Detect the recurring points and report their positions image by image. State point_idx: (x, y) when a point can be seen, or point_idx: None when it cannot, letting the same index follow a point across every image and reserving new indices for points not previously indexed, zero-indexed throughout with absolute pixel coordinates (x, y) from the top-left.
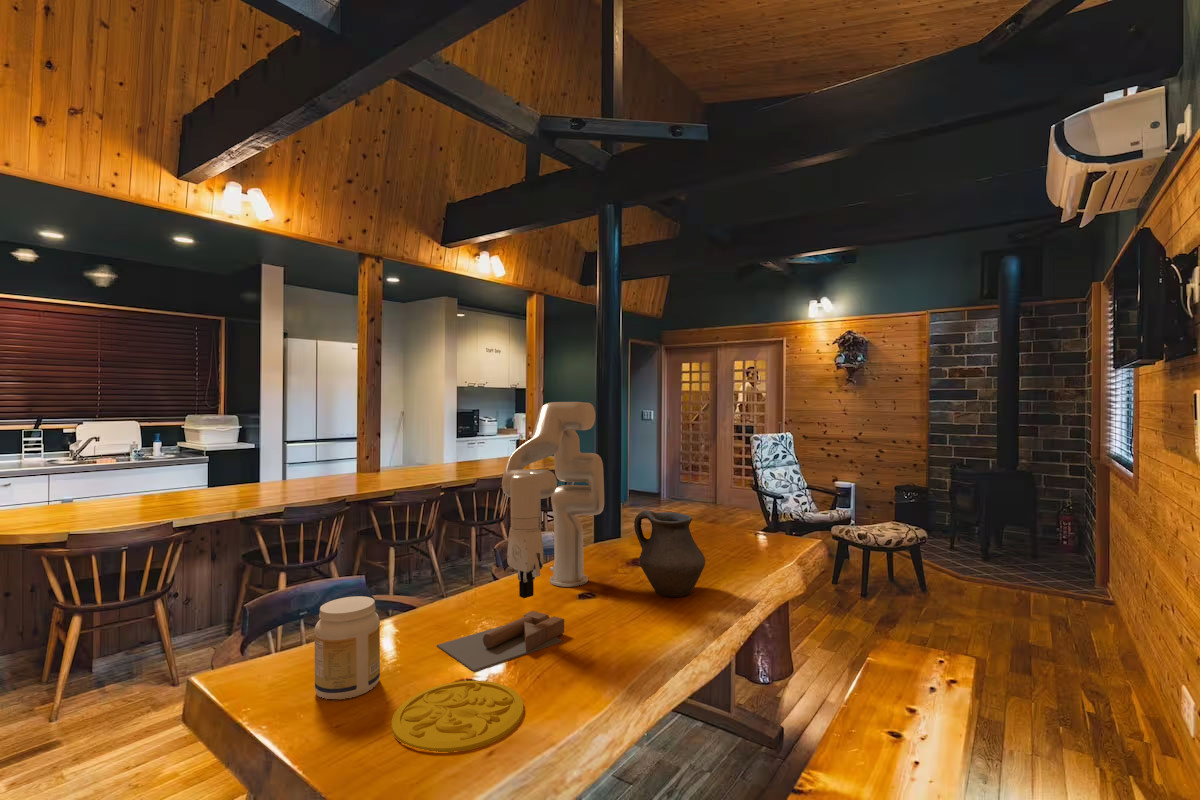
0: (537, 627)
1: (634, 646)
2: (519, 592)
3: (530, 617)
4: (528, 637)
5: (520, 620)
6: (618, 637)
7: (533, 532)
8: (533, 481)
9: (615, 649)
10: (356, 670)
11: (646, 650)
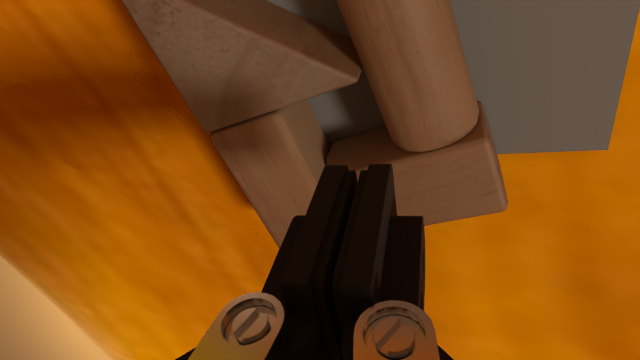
0: (223, 98)
1: (115, 286)
2: (382, 185)
3: (413, 149)
4: None
5: (391, 68)
6: (192, 298)
7: None
8: None
9: (108, 244)
10: None
11: (81, 288)
